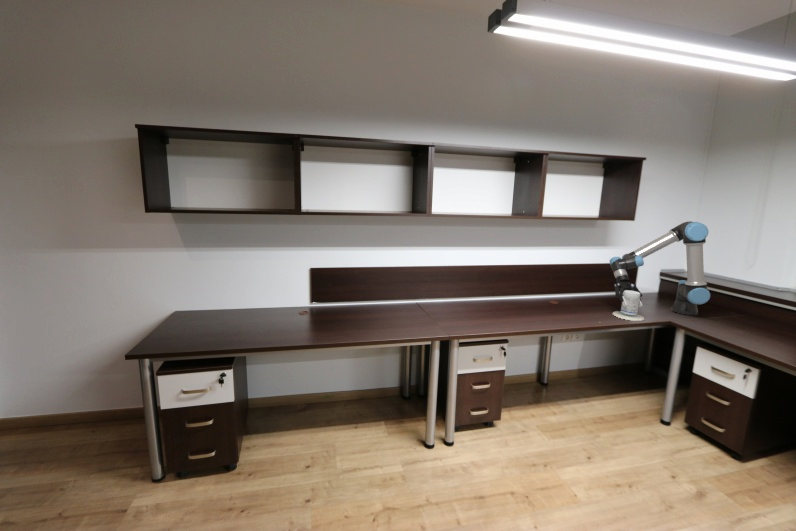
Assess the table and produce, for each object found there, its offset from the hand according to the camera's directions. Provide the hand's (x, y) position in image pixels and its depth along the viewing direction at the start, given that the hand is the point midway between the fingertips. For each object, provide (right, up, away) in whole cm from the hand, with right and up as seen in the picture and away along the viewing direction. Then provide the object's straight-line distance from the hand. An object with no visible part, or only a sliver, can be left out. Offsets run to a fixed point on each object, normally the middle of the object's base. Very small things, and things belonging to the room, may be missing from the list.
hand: (633, 306), depth 243 cm
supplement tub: (0, -5, +4) cm, 7 cm away
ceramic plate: (0, -8, +5) cm, 9 cm away
